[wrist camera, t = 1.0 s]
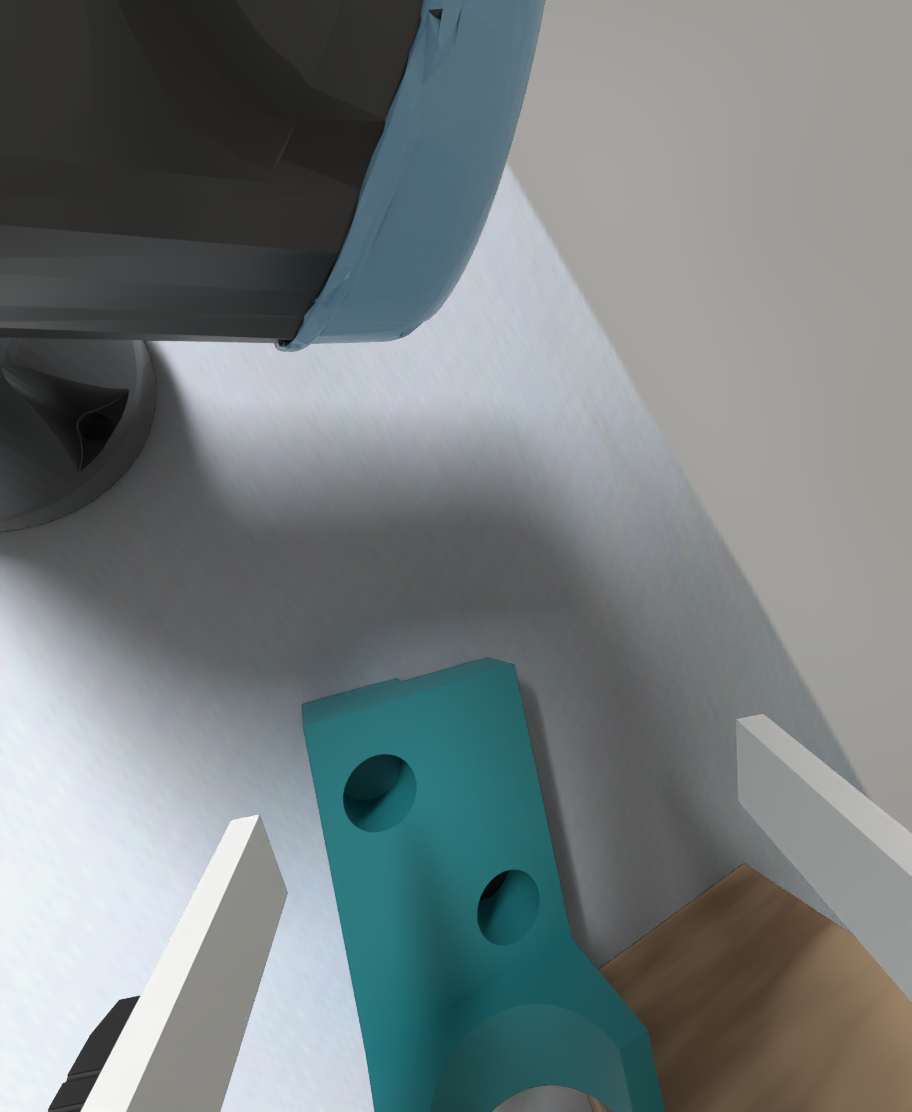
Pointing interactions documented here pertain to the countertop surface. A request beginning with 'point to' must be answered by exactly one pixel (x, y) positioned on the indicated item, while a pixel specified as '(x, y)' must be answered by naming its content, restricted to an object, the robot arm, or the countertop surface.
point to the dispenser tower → (765, 1007)
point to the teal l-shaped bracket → (460, 902)
